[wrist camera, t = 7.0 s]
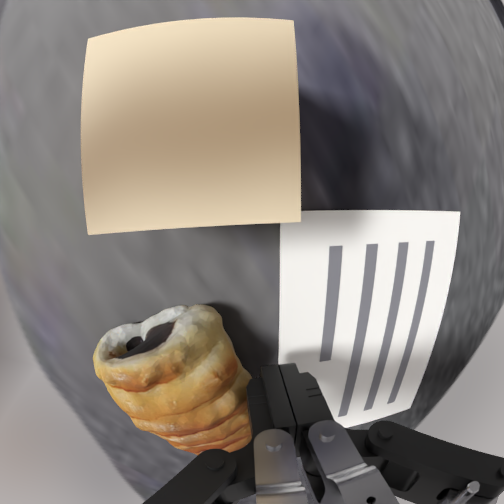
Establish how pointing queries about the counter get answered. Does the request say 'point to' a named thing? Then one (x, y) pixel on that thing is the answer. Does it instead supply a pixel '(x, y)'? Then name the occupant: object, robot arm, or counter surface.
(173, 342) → the pastry
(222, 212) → the maple cube
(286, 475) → the robot arm
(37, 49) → the counter surface
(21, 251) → the counter surface
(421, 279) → the letter
